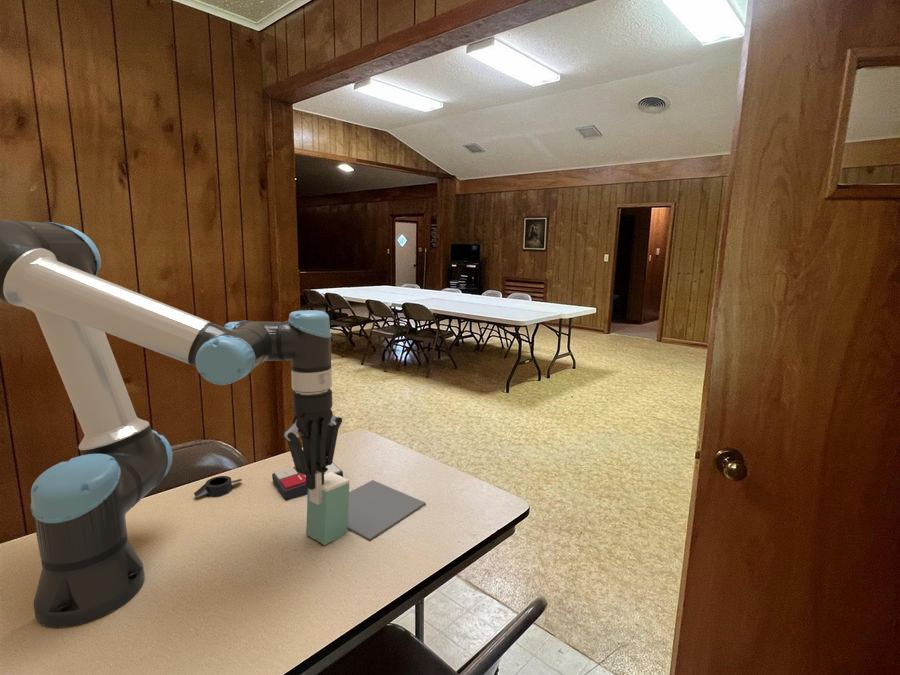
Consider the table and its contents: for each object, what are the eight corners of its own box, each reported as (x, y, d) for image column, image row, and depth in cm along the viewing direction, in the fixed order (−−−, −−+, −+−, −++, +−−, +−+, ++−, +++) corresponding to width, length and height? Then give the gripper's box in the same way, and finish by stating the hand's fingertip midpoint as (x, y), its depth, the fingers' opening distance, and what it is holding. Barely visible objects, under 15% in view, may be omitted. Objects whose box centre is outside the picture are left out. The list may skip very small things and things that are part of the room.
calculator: (271, 470, 120) (327, 453, 128) (272, 486, 121) (328, 468, 129) (284, 488, 111) (343, 469, 120) (285, 504, 112) (344, 484, 120)
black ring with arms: (201, 486, 119) (200, 476, 118) (243, 482, 121) (243, 472, 120) (192, 502, 111) (191, 491, 111) (237, 498, 113) (236, 487, 113)
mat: (315, 511, 107) (315, 509, 107) (372, 481, 121) (372, 480, 121) (370, 541, 97) (370, 539, 97) (425, 504, 111) (425, 502, 111)
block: (306, 534, 98) (307, 480, 97) (328, 523, 103) (330, 471, 102) (324, 545, 95) (326, 488, 93) (347, 533, 99) (349, 479, 98)
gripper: (295, 400, 84) (300, 521, 88) (349, 386, 94) (352, 495, 98) (272, 393, 88) (277, 508, 92) (326, 380, 98) (329, 484, 102)
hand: (315, 501), depth 95 cm, fingers closed
